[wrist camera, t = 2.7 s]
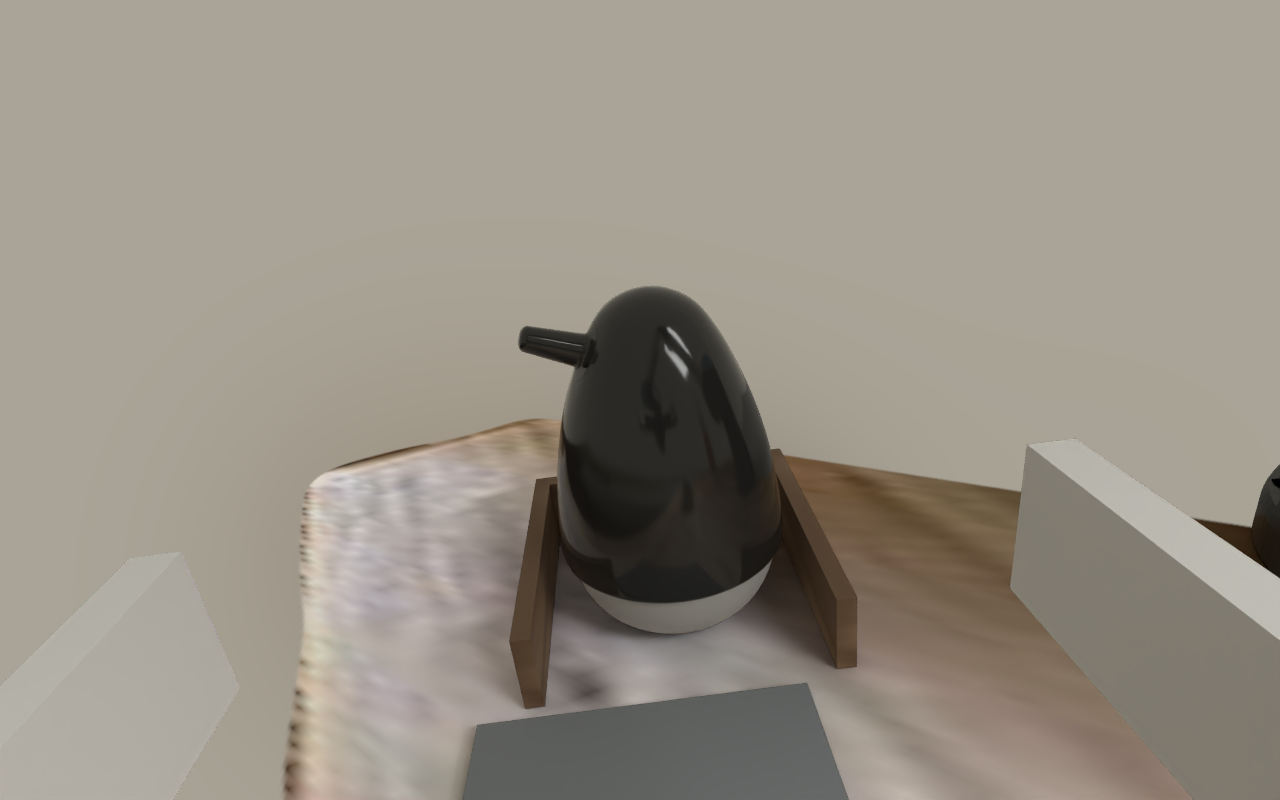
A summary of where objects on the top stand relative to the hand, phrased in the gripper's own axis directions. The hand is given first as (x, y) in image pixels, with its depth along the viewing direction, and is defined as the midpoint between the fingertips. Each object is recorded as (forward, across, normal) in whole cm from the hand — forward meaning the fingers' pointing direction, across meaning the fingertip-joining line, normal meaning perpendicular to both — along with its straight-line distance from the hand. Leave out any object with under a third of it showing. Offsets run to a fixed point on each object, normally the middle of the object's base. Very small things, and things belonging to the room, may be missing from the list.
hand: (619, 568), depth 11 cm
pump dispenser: (+19, +2, -16) cm, 24 cm away
